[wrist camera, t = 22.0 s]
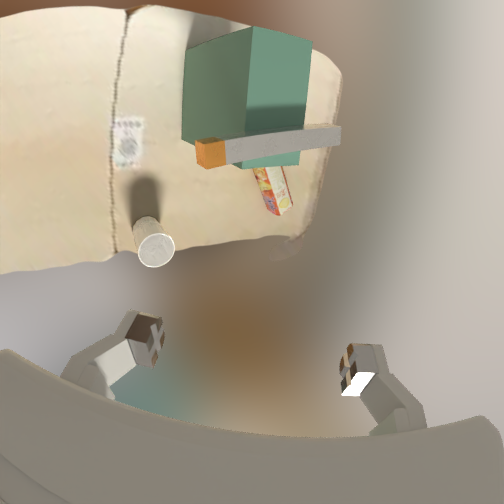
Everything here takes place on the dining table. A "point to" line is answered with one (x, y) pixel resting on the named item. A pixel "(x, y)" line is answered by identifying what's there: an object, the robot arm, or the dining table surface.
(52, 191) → the dining table surface
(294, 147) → the lever bar
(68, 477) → the robot arm
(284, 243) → the dining table surface
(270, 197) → the snack package
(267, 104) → the green box
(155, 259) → the white cup
